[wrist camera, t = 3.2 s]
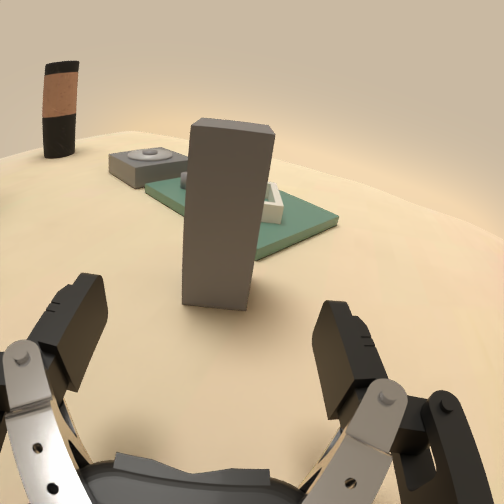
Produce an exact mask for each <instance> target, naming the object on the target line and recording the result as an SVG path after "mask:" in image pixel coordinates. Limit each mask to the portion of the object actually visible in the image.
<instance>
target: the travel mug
mask: <svg viewBox="0 0 504 504" xmlns="http://www.w3.org/2000/svg"><path fill="white" fill-rule="evenodd" d="M78 69H79V61H62V62H54V63H49V64H46V66H45V77H44V90H43V111H42V112H43V113H42V117H43V118H42V123H43V145H44V156H45V158H59V157H65V156H68V155H71V154H73V153H74V152H75V124H76V101H77V82H78Z"/></svg>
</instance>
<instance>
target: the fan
mask: <svg viewBox="0 0 504 504" xmlns="http://www.w3.org/2000/svg"><path fill="white" fill-rule="evenodd" d="M187 165H188V157H187V156H184V155H182V154H179V153H176V152H173V151H170V150H168V149H165V148H162V147H159V148H150V149H140V150H134V151H127V152H120V153H113V154H109V173H111V174H113V175H114V176H116V177H117V178H119V179H120V180H122V181H123V182H125V183H127V184H128V185H130V186H131V187H133V188H134V189H137V188H142V187H145V184H146V183H152V182H157V181H163V180H168V179H174V178H180V177H181V173H182V172H187Z"/></svg>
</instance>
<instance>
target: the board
mask: <svg viewBox="0 0 504 504" xmlns="http://www.w3.org/2000/svg"><path fill="white" fill-rule="evenodd" d="M186 179H187V172H182V173H181V177H180V178H174V179H168V180H163V181H157V182H152V183H146V184H145V193H147V194H148V195H150V196H152V197H153V198H155V199H156V200H158V201H160V202H161V203H163V204H164V205H166V206H168V207H169V208H171V209H173V210H174V211H176V212H177V213H179V214H181V215H182V216H184V211H185V194H186ZM338 219H339V216H338V215H335V214H333V213H331V212H329V211H327V210H324V209H322V208H320V207H318V206H315V205H313V204H311V203H308V202H306V201H304V200H302V199H299V198H297V197H295V196H292V195H290V194H287V193H285V192H283V191H280V190H278V187H277V184H276V183H273V182H268V183H267V189H266V195H265V201H264V207H263V213H262V219H261V225H260V231H259V236H258V242H257V248H256V254H255V261H256V260H259V259H261V258H263V257H265V256H268V255H270V254H272V253H275V252H277V251H279V250H281V249H284V248H286V247H288V246H290V245H293V244H295V243H297V242H299V241H302V240H304V239H306V238H309V237H311V236H313V235H315V234H318V233H320V232H322V231H324V230H327V229H329V228H331V227H333V226H335V225H337V222H338Z"/></svg>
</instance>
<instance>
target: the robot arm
mask: <svg viewBox="0 0 504 504" xmlns="http://www.w3.org/2000/svg"><path fill="white" fill-rule="evenodd" d="M107 318H108V306H107V301H106V295H105V289H104V283H103V278H102V276H101V275H95V274H88V273H81V274H80V275H79V276H78V278H77V279H76V281H75V282H74V283H73V285H70V284H68V285H67V286H65V287H64V288H62V289H61V290H60V291H58V292H57V294H56V295H55V297H54V298H53V300H52V301H51V303H50V304H49V305H48V307H47V308H46V311H44V313H43V315H42V316H41V318H40V319H39V321H38V322H37V324H36V325H35V327H34V329H33V330H32V332H31V333H30V335H29V337H28V338H27V340H19V341H16V342H14V343H12V344H11V345H10V346H9V347H8V348H7V349H6V350H5V352H0V452H1V449H2V445H3V442H4V439H5V436H6V433H7V431H8V435H9V439H10V443H11V447H12V451H13V454H14V458H15V461H16V464H17V468H18V471H19V474H20V477H21V480H22V483H23V486H24V489H25V491H26V494H27V497H28V499H29V502H30V503H29V504H372V503H373V501H374V499H375V497H376V495H377V493H378V491H379V489H380V486H381V484H382V482H383V480H384V478H385V476H386V474H387V471H388V469H389V467H390V464H391V462H392V459H393V464H394V469H395V474H396V479H397V484H398V489H399V494H400V500H401V504H494V502H493V498H492V494H491V491H490V487H489V483H488V480H487V477H486V473H485V470H484V467H483V464H482V461H481V458H480V455H479V452H478V449H477V446H476V443H475V440H474V437H473V435H472V432H471V429H470V427H469V424H468V421H467V419H466V416H465V414H464V411H463V409H462V406H461V404H460V402H459V400H458V399H457V398H456V397H455V396H454V395H453V394H451V393H450V392H448V391H444V390H439V391H436V392H434V393H433V394H432V395H431V396H430V397H429V398H428V399H424V398H418V397H413V396H409V395H407V394H406V392H405V390H404V389H403V387H402V386H401V385H399V384H398V383H397V382H395V381H393V380H390V379H388V376H387V374H386V371H385V369H384V366H383V364H382V361H381V359H380V356H379V354H378V351H377V349H376V347H375V344H374V342H373V339H371V335H370V332H369V330H368V328H367V325H366V324H365V323H364V322H363V321H362V320H361V319H360V318H359V317H358V316H352V314H351V311H350V309H349V306H348V304H347V303H346V302H344V301H329V300H326V301H325V302H324V303H323V306H322V308H321V311H320V314H319V317H318V320H317V322H316V325H315V328H314V331H313V335H312V347H313V352H314V356H315V361H316V365H317V370H318V374H319V379H320V384H321V388H322V393H323V398H324V402H325V407H326V412H327V417H328V420H334V419H339V421H340V425H341V426H340V427H339V428H338V430H337V432H336V433H335V435H334V437H333V438H332V440H331V441H330V443H329V445H328V446H327V448H326V449H325V451H324V452H323V454H322V455H321V457H320V459H319V460H318V462H317V463H316V465H315V466H314V467H313V469H312V470H311V471H310V473H309V474H308V475H307V476H306V478H305V479H304V480H303V481H302V483H301V484H300V485H299V487H298V488H296V487H295V486H293V485H291V484H289V483H286V482H284V481H281V480H278V479H275V478H271V477H270V472H269V469H234V468H231V469H225V470H218V471H211V472H204V473H196V474H191V473H186V472H183V471H181V470H178V469H175V468H173V467H170V466H167V465H165V464H162V463H160V462H157V461H155V460H152V459H147V458H142V457H137V456H132V455H127V454H123V453H118V452H116V456H115V460H108V461H101V462H96V463H93V462H92V460H91V458H90V456H89V455H88V453H87V451H86V449H85V448H84V446H83V444H82V442H81V440H80V437H79V435H78V433H77V430H76V428H75V425H74V423H73V420H72V417H71V415H70V412H69V409H68V407H67V404H66V401H65V399H64V395H65V392H66V390H70V391H74V392H78V389H79V387H80V384H81V382H82V379H83V377H84V374H85V372H86V369H87V367H88V364H89V362H90V360H91V357H92V355H93V352H94V350H95V348H96V345H97V343H98V341H99V339H100V336H101V334H102V332H103V330H104V327H105V325H106V322H107ZM430 446H431V449H432V452H433V456H434V460H435V463H436V470H435V466H434V462H433V459H432V455H431V452H430V448H429V447H430ZM389 452H391V454H389Z"/></svg>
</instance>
